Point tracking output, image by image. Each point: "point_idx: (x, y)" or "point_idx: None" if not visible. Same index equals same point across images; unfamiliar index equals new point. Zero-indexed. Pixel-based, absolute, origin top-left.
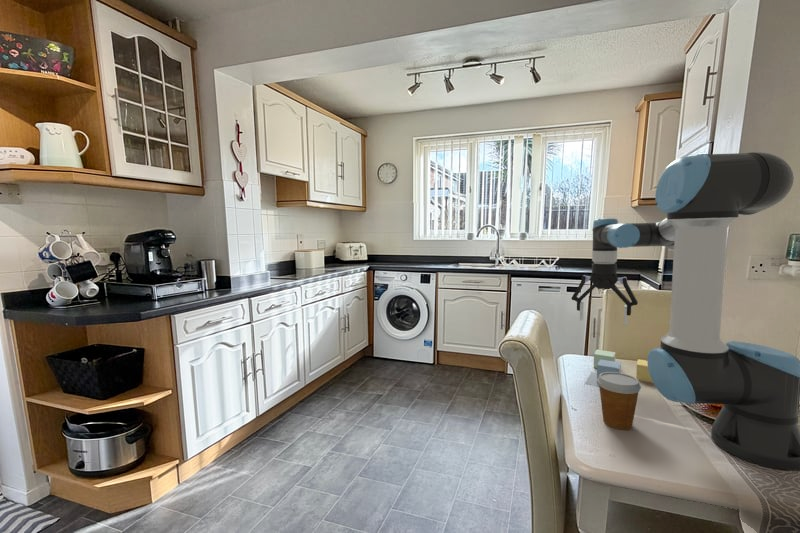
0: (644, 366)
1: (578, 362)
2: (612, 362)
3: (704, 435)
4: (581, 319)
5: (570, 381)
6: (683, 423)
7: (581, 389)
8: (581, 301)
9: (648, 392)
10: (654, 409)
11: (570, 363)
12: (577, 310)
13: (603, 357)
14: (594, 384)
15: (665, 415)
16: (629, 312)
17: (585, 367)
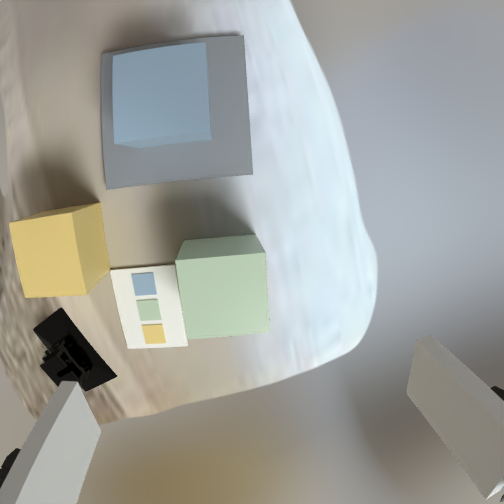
0: (49, 216)
1: (323, 285)
2: (148, 121)
3: None
4: (423, 341)
5: (297, 55)
6: (9, 8)
7: (245, 10)
8: (500, 489)
9: (59, 129)
10: (49, 22)
11: (346, 254)
12: (494, 386)
13: (220, 253)
14: (212, 49)
15: (32, 12)
16: (8, 469)
17: (288, 243)
